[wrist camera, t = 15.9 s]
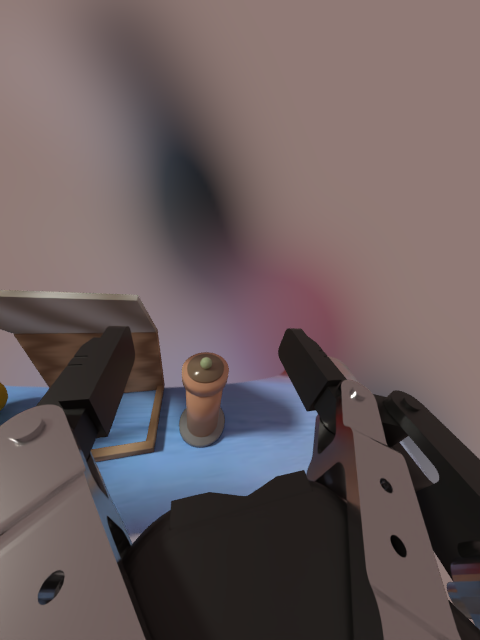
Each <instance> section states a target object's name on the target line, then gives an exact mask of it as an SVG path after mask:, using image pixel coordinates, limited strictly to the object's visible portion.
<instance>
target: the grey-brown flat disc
mask: <svg viewBox="0 0 480 640" xmlns="http://www.w3.org/2000/svg"><path fill="white" fill-rule="evenodd" d="M224 423H225V418H224V413H223V411H222V409H221V408H220V410H219V417H218V424H217V427H216V429H215V430H214V431H213V432H212V433H211V434H210V435H208V436H206V437H196V436H194V435H192V434H191V433H190V432H189V430H188V428H187V409H185V410H184V412H183V413H182V415H181V418H180V423H179V427H180V434H181V436H182V438H183V440H184V441H185V442H186V443H187V444H189V445H190V446H193V447H197V448H202V447H207V446H209V445H211V444H213V443H214V442H215V441H217V440H218V438H219V437H220V435H221V434H222V432H223V428H224Z"/></svg>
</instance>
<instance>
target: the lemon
mask: <svg viewBox="0 0 480 640" xmlns="http://www.w3.org/2000/svg"><path fill="white" fill-rule="evenodd" d="M7 399H8V394H7V390H6V388H5V387H4V385H2V384H1V383H0V410H1V409H2V408H3V407H4V406H5V404H6V402H7Z"/></svg>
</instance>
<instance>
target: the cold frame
mask: <svg viewBox="0 0 480 640" xmlns="http://www.w3.org/2000/svg"><path fill="white" fill-rule="evenodd" d="M108 326H129V327H130V330H131V335H132V339H133V344H134V349H135V361H134V365H133V367H132V370H131V373H130V376H129V379H128V381H127V384H126V387H125V390H124V393H128V392H140V391H151V390H156V394H155V399H154V404H153V409H152V414H151V419H150V424H149V429H148V434H147V439H146V441H144V442H137V443H131V444H124V445H118V446H111V447H104V448H98V449H91V453H92V455H93V457H94V460H95V462H98V461H104V460H110V459H115V458H121V457H127V456H133V455H139V454H145V453H151V452H154V447H155V441H156V434H157V428H158V422H159V416H160V410H161V404H162V397H163V391H164V378H163V369H162V361H161V353H160V346H159V338H158V330H157V328H156V326H155V325H154V323H153V321H152V319H151V318H150V316H149V314H148V312H147V311H146V309H145V307H144V305H143V303H142V302H141V300H140V298H139V297H138V295H123V294H122V295H121V294H96V293H68V292H40V291H11V290H0V329H2V330H5V331H7V332H10V333H14V336H15V337H16V338H17V340H18V342H19V343H20V345H21V346H22V348H23V349H24V351H25V352H26V353H27V355H28V357H29V358H30V360H31V361H32V363H33V364H34V366H35V367H36V369H37V370H38V372H39V373H40V375H41V376H42V377H43V379H44V380H45V382H46V383H47V385H48V386H49V388H50V387H51V386H52V384H53V383H54V382H55V380H56V379H57V378H58V376H59V375H60V374H61V372H62V371H63V370H64V368H65V367H67V364H68V363H69V362H70V360H71V359H72V358H74V355H75V354H76V352H77V351H78V350H79V348H80V347H81V346H82V345H83V344H85V343H86V342H88V341H89V340H90V339H92V338H93V337H101V336H102V334H103V333H104V331H105V330H106V328H107V327H108Z"/></svg>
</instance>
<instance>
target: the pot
mask: <svg viewBox="0 0 480 640" xmlns="http://www.w3.org/2000/svg"><path fill="white" fill-rule="evenodd" d="M228 372H229V368H228V364H227V362H226V361H225V360H224V359H223V358H222V357H221V356H219V355H217V354H214V353H208V352H207V353H206V352H205V353H198V354H195V355H193V356H191V357H190V358H188V359H187V360H186V362H185V363H184V365H183V367H182V382H183V385H184V387H185V389H186V409H187V428H188V430H189V432H190V433H191V434H192V435H194V436H196V437H206V436H208V435H210V434H211V433H212V432H213V431H214V430H215V429H216V427H217V424H218V417H219V410H220V404H221V397H222V390H223V388H224V387H225V385H226V383H227V378H228Z"/></svg>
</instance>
